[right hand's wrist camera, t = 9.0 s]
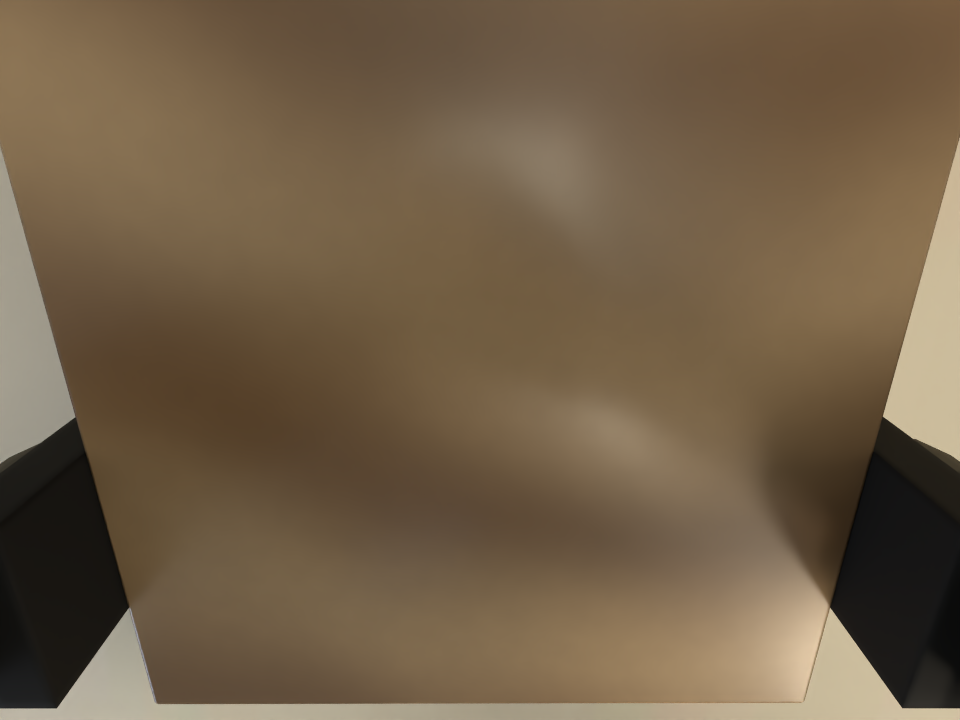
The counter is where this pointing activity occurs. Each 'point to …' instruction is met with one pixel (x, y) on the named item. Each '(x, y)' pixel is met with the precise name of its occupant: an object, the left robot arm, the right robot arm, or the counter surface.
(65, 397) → the counter surface
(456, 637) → the cabinet
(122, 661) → the counter surface
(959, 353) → the counter surface
